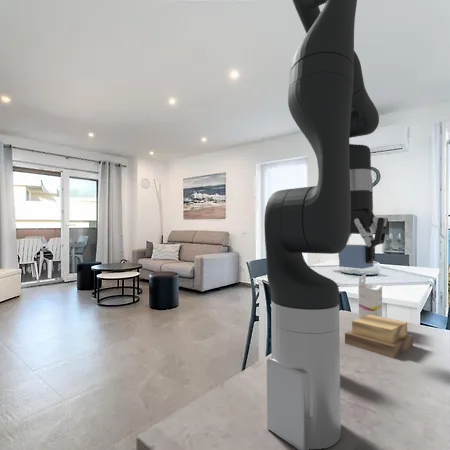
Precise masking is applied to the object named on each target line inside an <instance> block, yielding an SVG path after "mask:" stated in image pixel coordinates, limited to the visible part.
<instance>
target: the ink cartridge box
mask: <svg viewBox="0 0 450 450" xmlns="http://www.w3.org/2000/svg"><path fill="white" fill-rule="evenodd" d="M366 276H367V274H366V273H365V274H363V275H361V276H359V279H358V318H361V317H364V316H366V315H374V316H379V317H383V285H380V284H366Z"/></svg>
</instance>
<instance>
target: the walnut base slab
mask: <svg viewBox="0 0 450 450" xmlns="http://www.w3.org/2000/svg"><path fill="white" fill-rule="evenodd" d="M413 341H414V340H413V335H412V334H408V333H407V335H406V336H405V337H403V338H401V339H399V340H398V341H396V342H394V343H392V344H391V343H387V342H383V341H379V340H376V339H372V338H368V337H364V336H361V335H357V334H353V333H352V330H349V331H347V332H345V333H344V344H346V345H349V346H351V347H352V346H353V347H356V348H359V349H362V350H366V351H369V352H371V353H375V354H379V355H381V356H385V357H388V358H391V359H394V358H396V357H397V356H399V355H401V354H402V353H405V352H406V351H407V350H409V349H410V348H412V347H413V346H414V342H413Z"/></svg>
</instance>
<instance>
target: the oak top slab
mask: <svg viewBox="0 0 450 450" xmlns="http://www.w3.org/2000/svg"><path fill="white" fill-rule="evenodd" d="M351 331H352V333H353V334H357V335H361V336H364V337H368V338H372V339H376V340H379V341H383V342H387V343H391V344H392V343H394V342H396V341H398V340H399V339H401V338H403V337H405V336H406V335H407V334H408V322H407V321H403V320H397V319H392V318H388V317H383V316H382V317H379V316H374V315H366V316H364V317H361V318H359V317H358V318H356V319H354V320H351Z"/></svg>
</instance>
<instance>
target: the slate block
mask: <svg viewBox="0 0 450 450" xmlns="http://www.w3.org/2000/svg"><path fill="white" fill-rule="evenodd" d="M365 247H367V246H366V244H350V243H349V244H347V245H346V247H345V248H344V249H343V250H342V251H341V252H340V253H339V254H338V261H339V262H338V266H339V267H340V268H351V269H361V270H362V269H367V268H372V267H374V262H373V263H370V264H368V263H366V253H365Z"/></svg>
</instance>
